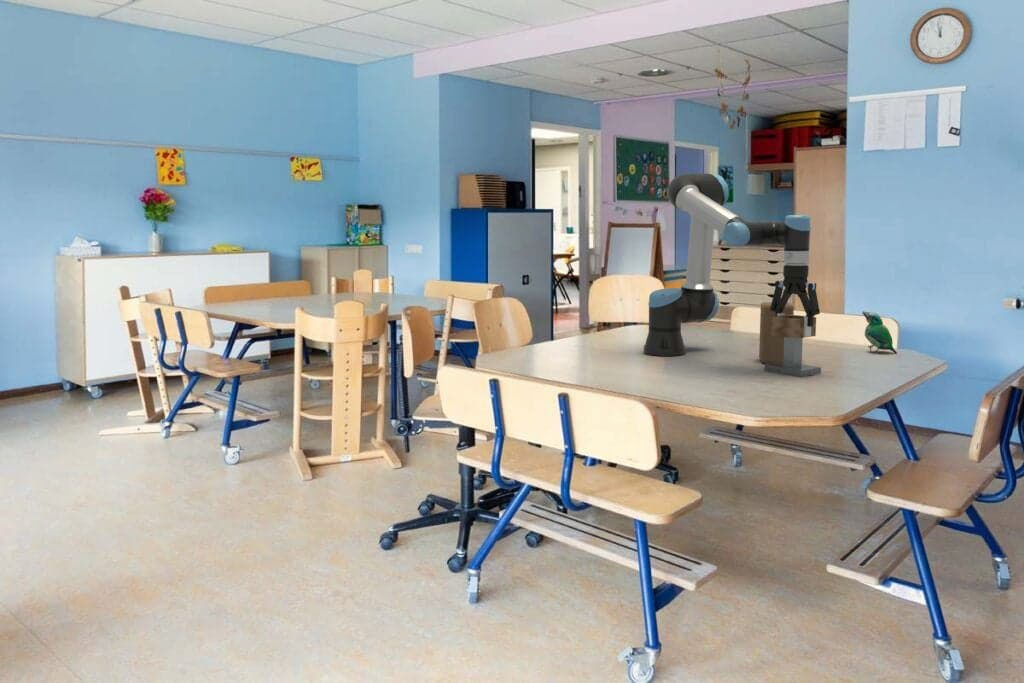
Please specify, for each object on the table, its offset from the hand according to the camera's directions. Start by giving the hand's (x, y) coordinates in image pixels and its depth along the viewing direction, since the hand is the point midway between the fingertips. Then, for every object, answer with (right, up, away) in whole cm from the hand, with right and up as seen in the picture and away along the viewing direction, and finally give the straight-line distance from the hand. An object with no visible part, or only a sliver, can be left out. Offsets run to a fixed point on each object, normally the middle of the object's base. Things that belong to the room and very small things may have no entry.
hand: (793, 335), depth 270 cm
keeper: (0, -12, +2) cm, 12 cm away
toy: (+43, -6, +36) cm, 57 cm away
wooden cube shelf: (0, 0, 0) cm, 0 cm away
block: (+1, -9, +22) cm, 23 cm away
